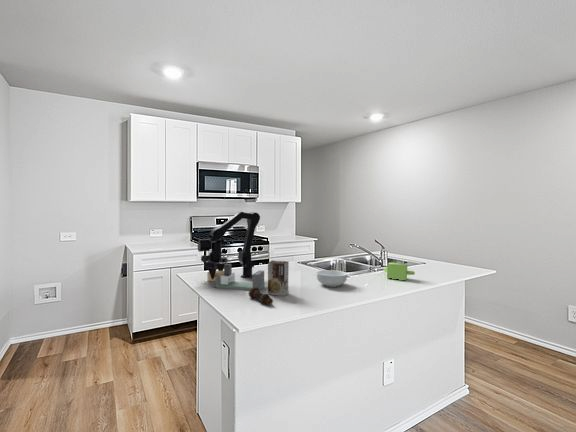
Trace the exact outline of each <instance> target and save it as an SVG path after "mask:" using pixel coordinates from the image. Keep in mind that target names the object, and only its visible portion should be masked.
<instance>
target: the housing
mask: <svg viewBox="0 0 576 432" xmlns="http://www.w3.org/2000/svg"><path fill="white" fill-rule="evenodd" d="M223 274H224V270H223V271H218V270H216V273H215V276H214V279H211V276H210V273H209V271H208V272H207V282H215V279H216V278H218V277H220V276H221V275H223Z"/></svg>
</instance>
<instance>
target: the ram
mask: <svg viewBox="0 0 576 432" xmlns="http://www.w3.org/2000/svg"><path fill="white" fill-rule="evenodd" d="M232 267H233V266H232V263H227V264H224V269H223V271H224V274H223V275H221V284H223V285H229V284H230V283H232V282H234V281H236V280H235V279H236V278H235V277H236V276H235V275H236V273H235V272H233V271H232Z"/></svg>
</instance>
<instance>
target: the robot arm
mask: <svg viewBox="0 0 576 432" xmlns="http://www.w3.org/2000/svg"><path fill="white" fill-rule="evenodd" d="M242 219H244V220H245V219H246V223H247V227H246V228H247V229H246V233H245V239H244V242H243V246H242V247H243V248H242V250H239V251H238V254H237V258H238V262H239V263H240V265H241V266H242V274H241V276H240V278H253V274H254V273H253V268H254V267H255V262H254V261H253V260H252V250H251V249H252V246H253V240H254V235H255V231H256V227H257V226H258V224H259V222H260V219H261V216H260V214H259V213H258V212H253V211H251V212H243V211H238V212H237V213H235V215H233V216H232V217H230V218H229V219H228V220H227V221H225V222H223V224H221V225H218V226H216V227H214V228H212V229H211V230H210V234H209V235H208V237H207V238H206V239H198V243H197V251H198V252H200V253H201V252H209V251H211V252H209V255H206V254H203V255H201V257H200V260H201V262H202V263H203V268H204V269H207V271H208V272H209V273H210V276H211V279H214V276H215V273H216V271H224V264H228V261H229V260H228V258H227V257H222V255H223V254H224V253H223V251H222V243H223V244H224V243H226V240H224V238H223V237H224V236H225V235H226V233H227V232H228V231H229V230H230V229H231V228H232V227H234V226H235V225H236V224H237V223H238V222H240V221H241V220H242Z"/></svg>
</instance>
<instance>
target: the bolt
mask: <svg viewBox="0 0 576 432" xmlns="http://www.w3.org/2000/svg"><path fill="white" fill-rule="evenodd" d="M248 296H249V297H250V299H257V300H258V301H260V304H262V305H268V306H271V305H272V304H273V302H274V299H273V298H272V297H270V294H268V292H267V293H266V292H265V293H262V292H261V290H259V289H258V288H257V287H253V288H251V289H250V290H248Z"/></svg>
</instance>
